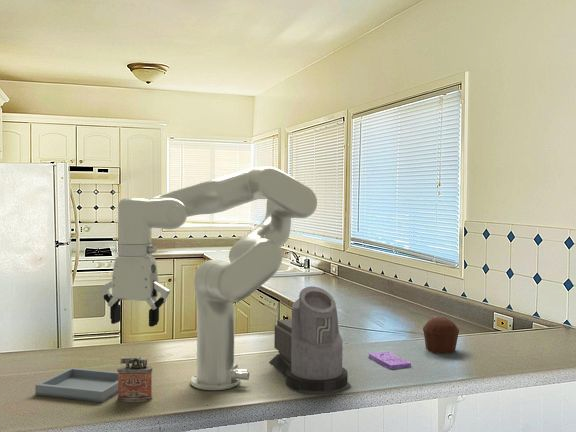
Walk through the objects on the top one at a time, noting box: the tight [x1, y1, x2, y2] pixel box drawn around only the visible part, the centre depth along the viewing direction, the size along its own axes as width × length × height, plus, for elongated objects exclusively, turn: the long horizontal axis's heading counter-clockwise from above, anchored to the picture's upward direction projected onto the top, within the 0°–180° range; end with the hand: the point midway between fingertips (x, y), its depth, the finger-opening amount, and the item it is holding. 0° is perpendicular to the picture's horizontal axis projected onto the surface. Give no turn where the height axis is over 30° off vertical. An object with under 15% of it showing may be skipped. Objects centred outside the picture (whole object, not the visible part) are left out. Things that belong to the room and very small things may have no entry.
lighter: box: [116, 355, 153, 403], centre depth 133 cm, size 8×3×10 cm, turn 92°
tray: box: [34, 367, 118, 404], centre depth 139 cm, size 18×14×2 cm
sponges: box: [368, 350, 412, 370], centre depth 165 cm, size 7×13×2 cm, turn 22°
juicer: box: [268, 286, 352, 396], centre depth 151 cm, size 30×16×24 cm, turn 22°
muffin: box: [422, 316, 460, 355], centre depth 179 cm, size 12×11×10 cm
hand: (134, 324), depth 132 cm, fingers open, 9 cm apart
